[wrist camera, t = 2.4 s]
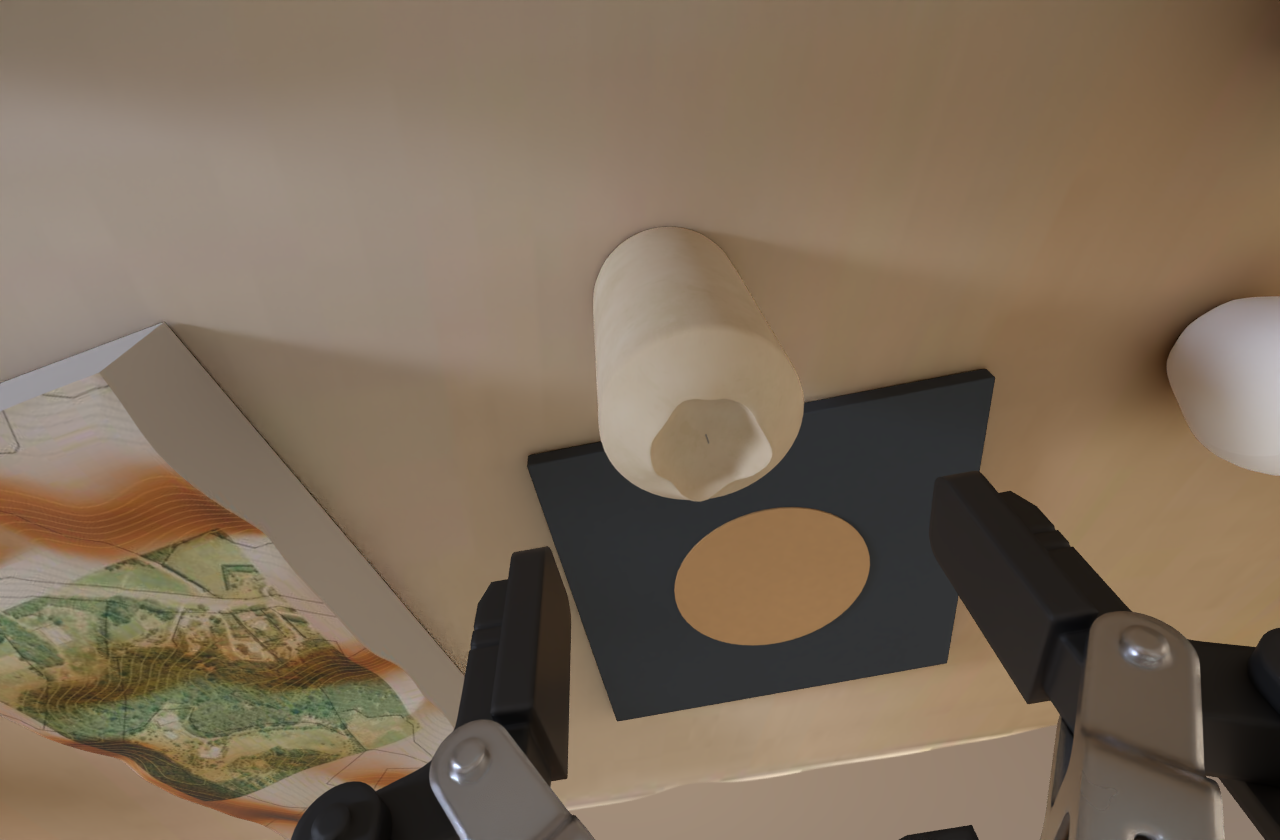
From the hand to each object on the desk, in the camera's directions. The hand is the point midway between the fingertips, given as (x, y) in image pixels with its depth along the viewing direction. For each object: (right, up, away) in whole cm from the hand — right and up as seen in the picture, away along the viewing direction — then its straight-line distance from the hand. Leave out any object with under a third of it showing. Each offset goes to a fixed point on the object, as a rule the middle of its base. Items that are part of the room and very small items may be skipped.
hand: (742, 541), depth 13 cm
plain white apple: (+23, +6, +14) cm, 27 cm away
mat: (+5, -5, +20) cm, 21 cm away
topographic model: (-22, -8, +19) cm, 30 cm away
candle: (-1, +7, +11) cm, 13 cm away
